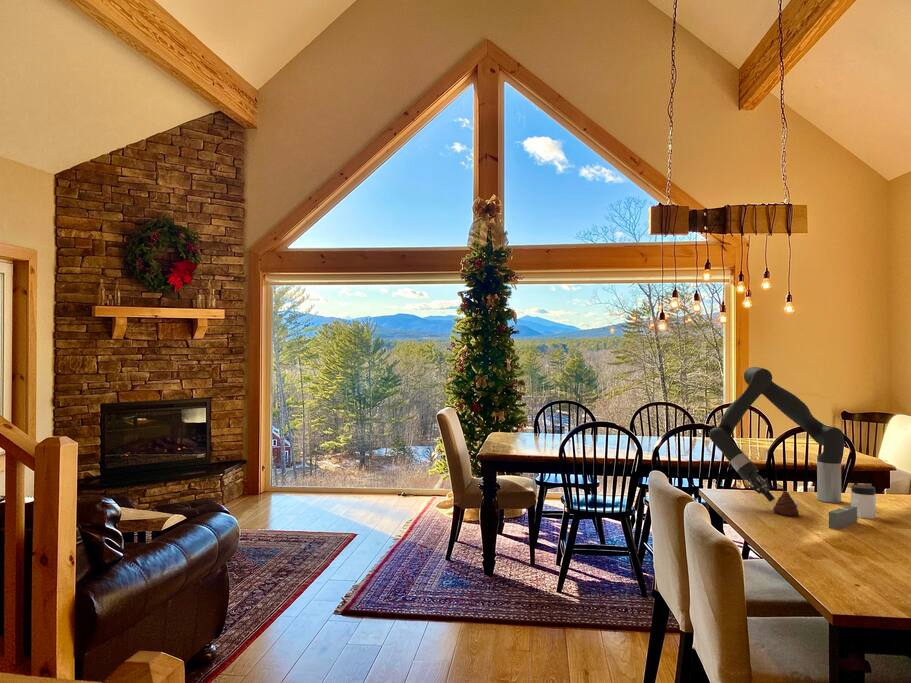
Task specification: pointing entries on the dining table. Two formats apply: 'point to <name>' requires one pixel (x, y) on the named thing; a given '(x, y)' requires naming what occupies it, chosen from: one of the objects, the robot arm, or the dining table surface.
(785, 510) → the poop emoji
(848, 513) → the rail
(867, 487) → the jar
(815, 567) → the dining table surface
